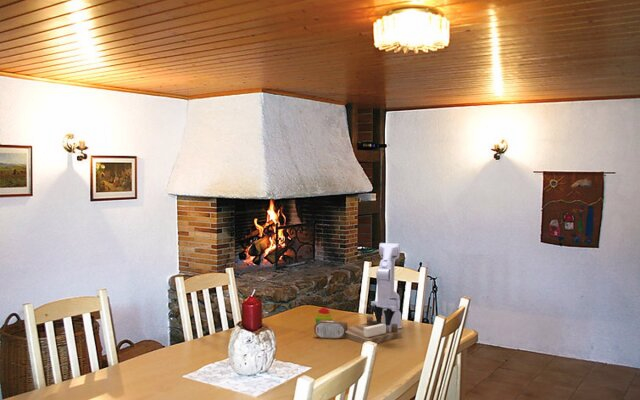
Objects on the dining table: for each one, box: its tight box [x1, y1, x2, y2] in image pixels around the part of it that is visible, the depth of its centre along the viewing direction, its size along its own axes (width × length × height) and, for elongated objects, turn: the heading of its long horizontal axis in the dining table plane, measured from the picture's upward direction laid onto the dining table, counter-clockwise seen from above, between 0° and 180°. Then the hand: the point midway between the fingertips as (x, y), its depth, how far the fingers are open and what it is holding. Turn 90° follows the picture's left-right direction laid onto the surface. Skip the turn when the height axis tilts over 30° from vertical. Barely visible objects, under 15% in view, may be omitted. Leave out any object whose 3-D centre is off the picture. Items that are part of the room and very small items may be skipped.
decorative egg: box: [315, 307, 333, 324], centre depth 299 cm, size 8×8×10 cm
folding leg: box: [364, 323, 389, 337], centre depth 277 cm, size 15×3×4 cm, turn 129°
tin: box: [313, 320, 346, 340], centre depth 280 cm, size 15×3×8 cm, turn 84°
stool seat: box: [341, 316, 403, 345], centre depth 283 cm, size 22×22×6 cm
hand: (383, 323), depth 270 cm, fingers open, 5 cm apart
